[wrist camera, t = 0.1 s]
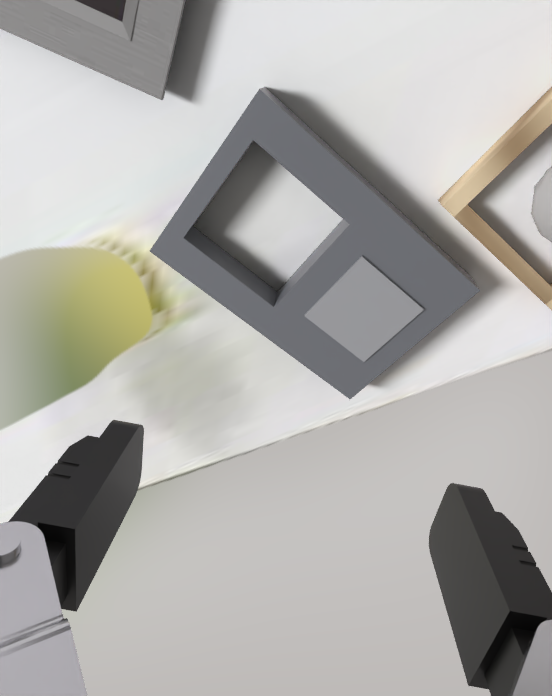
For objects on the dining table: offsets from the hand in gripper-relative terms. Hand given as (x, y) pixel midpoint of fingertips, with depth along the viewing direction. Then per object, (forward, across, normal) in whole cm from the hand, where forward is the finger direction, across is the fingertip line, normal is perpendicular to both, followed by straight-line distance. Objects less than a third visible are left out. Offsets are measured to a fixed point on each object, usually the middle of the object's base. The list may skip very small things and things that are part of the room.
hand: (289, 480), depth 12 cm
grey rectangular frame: (+22, 0, -1) cm, 23 cm away
